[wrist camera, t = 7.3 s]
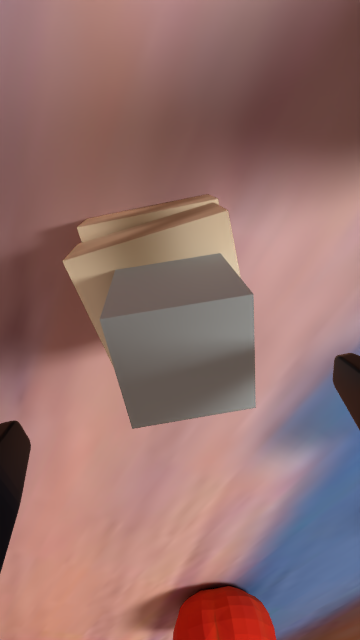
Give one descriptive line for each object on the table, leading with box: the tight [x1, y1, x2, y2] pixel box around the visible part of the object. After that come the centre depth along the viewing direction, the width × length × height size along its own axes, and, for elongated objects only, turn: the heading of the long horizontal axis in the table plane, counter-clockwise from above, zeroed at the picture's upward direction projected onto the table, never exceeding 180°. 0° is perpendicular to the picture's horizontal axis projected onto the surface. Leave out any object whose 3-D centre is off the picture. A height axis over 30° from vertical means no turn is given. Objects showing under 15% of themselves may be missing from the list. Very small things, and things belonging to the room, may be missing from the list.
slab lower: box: [77, 194, 219, 242], centre depth 17 cm, size 7×7×3 cm
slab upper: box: [62, 202, 241, 367], centre depth 15 cm, size 7×7×3 cm
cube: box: [100, 253, 256, 429], centre depth 12 cm, size 4×4×4 cm
